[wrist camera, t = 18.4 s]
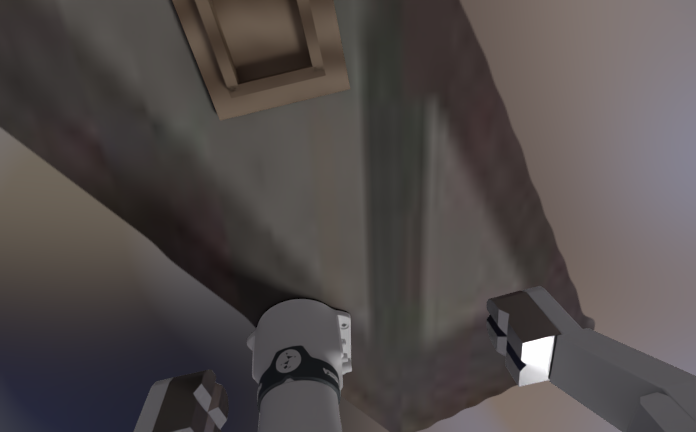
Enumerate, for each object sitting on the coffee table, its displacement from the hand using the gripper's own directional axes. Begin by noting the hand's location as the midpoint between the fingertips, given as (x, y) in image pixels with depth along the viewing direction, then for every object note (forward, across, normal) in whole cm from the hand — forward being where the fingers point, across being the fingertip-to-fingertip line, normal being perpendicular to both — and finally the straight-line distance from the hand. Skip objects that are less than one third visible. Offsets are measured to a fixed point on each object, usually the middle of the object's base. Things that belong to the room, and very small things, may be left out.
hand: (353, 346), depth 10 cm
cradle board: (+37, +3, -10) cm, 39 cm away
